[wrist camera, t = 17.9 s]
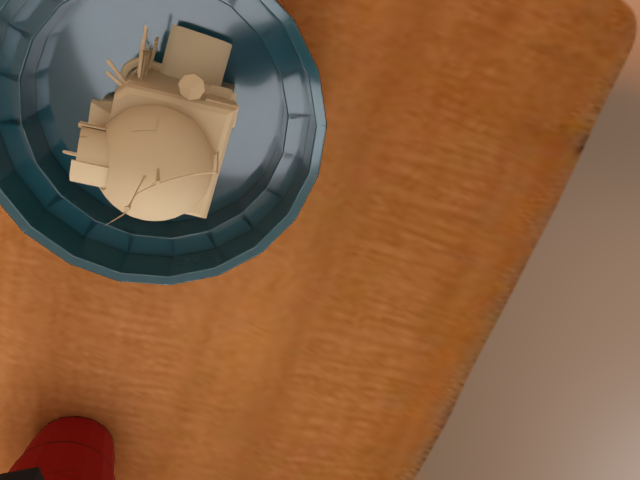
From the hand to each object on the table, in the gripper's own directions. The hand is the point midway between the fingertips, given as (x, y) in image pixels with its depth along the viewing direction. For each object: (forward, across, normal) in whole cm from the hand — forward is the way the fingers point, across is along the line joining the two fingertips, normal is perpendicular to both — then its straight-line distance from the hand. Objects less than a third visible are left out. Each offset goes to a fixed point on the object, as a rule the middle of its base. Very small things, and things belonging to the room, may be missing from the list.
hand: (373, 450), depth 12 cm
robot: (+27, -7, +3) cm, 28 cm away
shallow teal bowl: (+28, -7, +3) cm, 29 cm away
